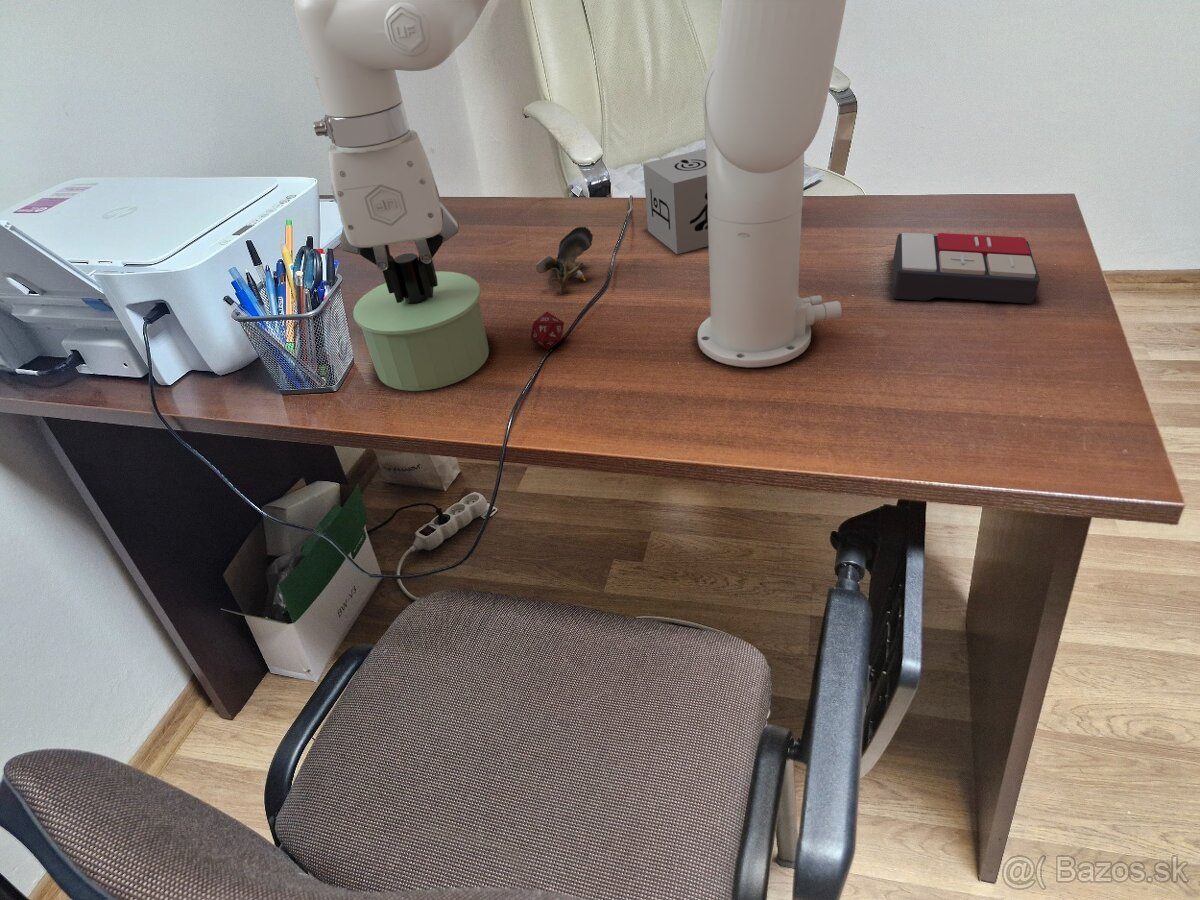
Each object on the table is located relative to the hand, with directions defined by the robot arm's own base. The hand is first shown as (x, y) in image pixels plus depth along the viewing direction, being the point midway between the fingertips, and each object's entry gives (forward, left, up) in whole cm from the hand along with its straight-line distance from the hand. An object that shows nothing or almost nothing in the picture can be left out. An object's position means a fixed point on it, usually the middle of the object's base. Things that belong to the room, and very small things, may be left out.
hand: (415, 293), depth 90 cm
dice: (-14, +1, -9) cm, 17 cm away
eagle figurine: (-18, -16, -9) cm, 26 cm away
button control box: (-64, +1, -9) cm, 65 cm away
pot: (0, 0, -9) cm, 9 cm away
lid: (0, 0, -1) cm, 1 cm away
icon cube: (-37, -25, -9) cm, 46 cm away
